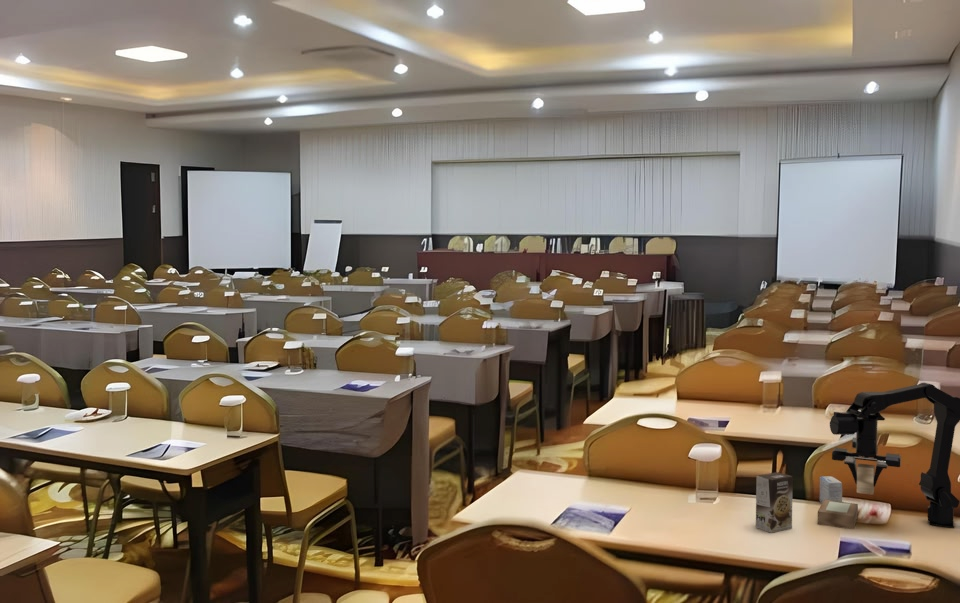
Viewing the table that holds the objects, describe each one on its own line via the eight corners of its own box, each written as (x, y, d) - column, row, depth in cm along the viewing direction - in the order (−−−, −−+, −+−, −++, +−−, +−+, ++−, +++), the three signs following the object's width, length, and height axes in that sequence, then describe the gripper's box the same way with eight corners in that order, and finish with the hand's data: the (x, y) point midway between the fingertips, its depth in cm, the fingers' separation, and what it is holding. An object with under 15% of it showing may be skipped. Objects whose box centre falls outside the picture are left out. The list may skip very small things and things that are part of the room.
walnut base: (857, 516, 258) (857, 503, 257) (853, 529, 246) (853, 515, 245) (823, 511, 263) (823, 498, 262) (817, 524, 251) (817, 510, 250)
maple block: (873, 491, 249) (874, 465, 249) (873, 494, 245) (873, 468, 245) (857, 489, 252) (858, 463, 251) (856, 492, 248) (857, 466, 247)
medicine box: (842, 508, 266) (842, 482, 266) (828, 508, 266) (828, 482, 266) (832, 501, 274) (832, 476, 273) (819, 501, 274) (819, 476, 274)
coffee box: (771, 533, 242) (771, 479, 242) (754, 527, 248) (755, 474, 247) (793, 528, 247) (793, 475, 246) (776, 522, 252) (776, 471, 252)
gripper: (902, 432, 250) (900, 483, 251) (836, 426, 259) (834, 475, 260) (900, 439, 241) (899, 492, 241) (832, 433, 250) (831, 483, 250)
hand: (865, 485), depth 248 cm, fingers closed on maple block, 4 cm apart
